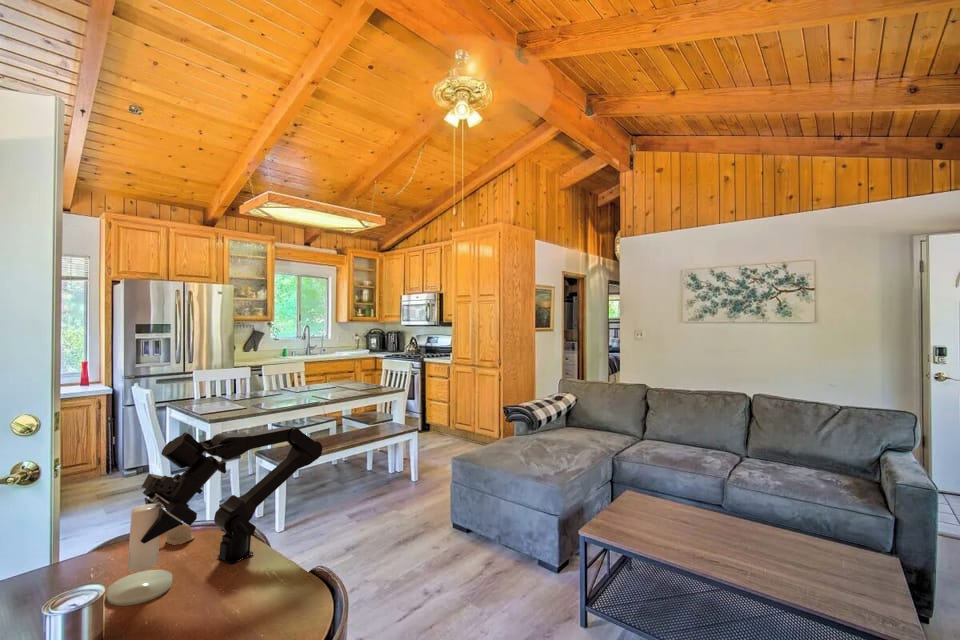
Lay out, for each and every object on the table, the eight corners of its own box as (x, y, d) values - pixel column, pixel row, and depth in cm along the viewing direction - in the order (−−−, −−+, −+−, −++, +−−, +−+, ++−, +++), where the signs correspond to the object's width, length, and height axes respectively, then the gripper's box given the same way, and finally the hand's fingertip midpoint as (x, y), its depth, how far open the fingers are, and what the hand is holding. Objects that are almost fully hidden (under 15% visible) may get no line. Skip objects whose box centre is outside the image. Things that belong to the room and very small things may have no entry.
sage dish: (155, 570, 111) (156, 564, 112) (182, 586, 106) (183, 579, 106) (96, 594, 101) (97, 587, 101) (122, 612, 95) (123, 605, 95)
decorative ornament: (188, 544, 125) (190, 525, 126) (155, 545, 124) (157, 526, 124) (195, 538, 129) (196, 519, 130) (163, 539, 128) (164, 520, 128)
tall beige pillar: (142, 557, 107) (145, 502, 107) (163, 560, 106) (167, 504, 106) (121, 570, 101) (124, 512, 101) (143, 572, 101) (147, 514, 101)
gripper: (154, 452, 113) (95, 509, 104) (184, 468, 102) (121, 534, 93) (187, 476, 119) (134, 532, 110) (219, 494, 108) (163, 558, 99)
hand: (137, 538), depth 103 cm, fingers closed on tall beige pillar, 6 cm apart
